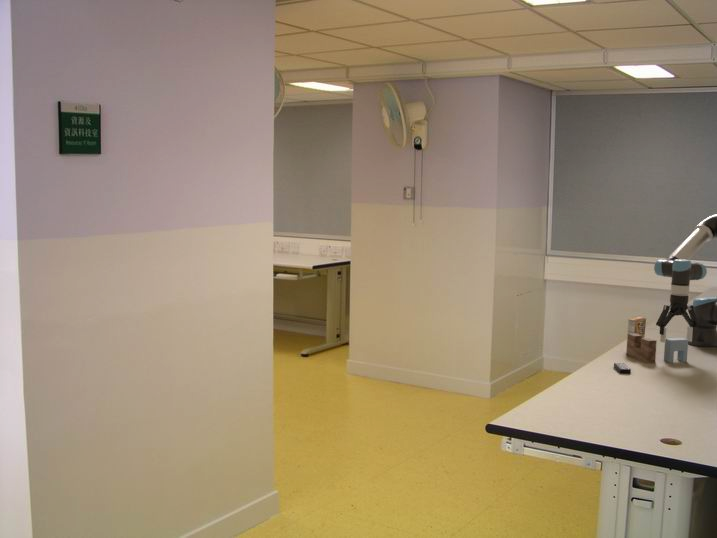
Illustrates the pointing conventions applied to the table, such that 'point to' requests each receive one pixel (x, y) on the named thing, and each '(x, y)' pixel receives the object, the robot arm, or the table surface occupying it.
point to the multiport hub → (622, 368)
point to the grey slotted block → (676, 349)
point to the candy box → (637, 326)
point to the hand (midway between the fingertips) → (676, 341)
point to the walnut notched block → (641, 348)
